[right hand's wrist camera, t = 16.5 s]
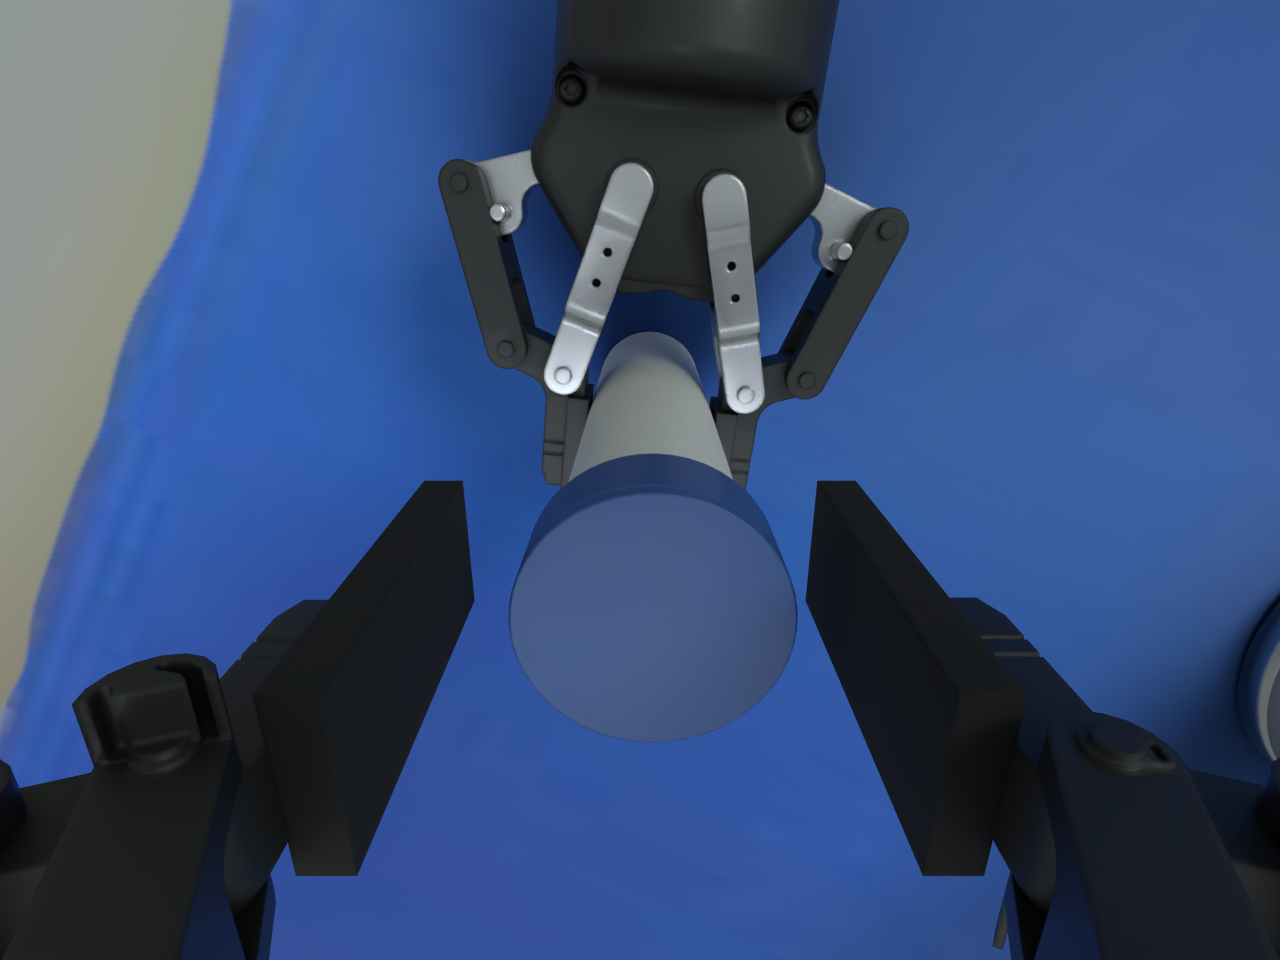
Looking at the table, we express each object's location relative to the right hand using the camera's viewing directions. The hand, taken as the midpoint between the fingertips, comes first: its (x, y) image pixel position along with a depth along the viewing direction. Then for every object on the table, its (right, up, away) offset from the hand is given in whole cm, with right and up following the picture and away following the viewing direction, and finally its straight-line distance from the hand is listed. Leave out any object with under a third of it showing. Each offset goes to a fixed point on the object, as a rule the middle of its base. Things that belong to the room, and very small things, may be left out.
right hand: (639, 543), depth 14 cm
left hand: (0, +1, +10) cm, 10 cm away
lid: (0, -1, -2) cm, 2 cm away
